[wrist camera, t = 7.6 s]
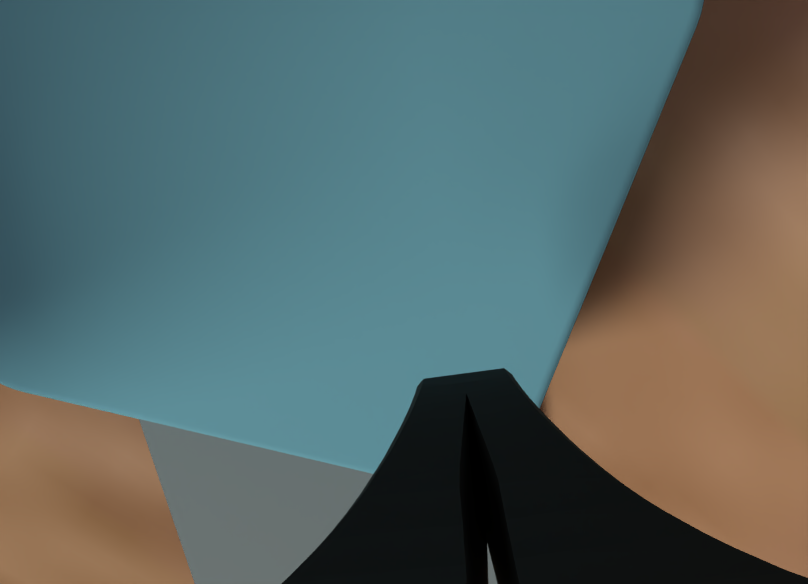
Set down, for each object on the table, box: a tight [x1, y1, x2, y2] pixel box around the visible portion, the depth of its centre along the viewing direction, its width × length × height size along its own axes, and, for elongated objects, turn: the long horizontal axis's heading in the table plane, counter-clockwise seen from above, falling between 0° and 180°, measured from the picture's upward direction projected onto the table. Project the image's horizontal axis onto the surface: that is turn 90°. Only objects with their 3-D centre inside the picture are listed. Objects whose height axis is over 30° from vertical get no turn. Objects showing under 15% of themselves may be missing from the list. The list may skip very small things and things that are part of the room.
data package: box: [0, 0, 704, 474], centre depth 16 cm, size 12×4×12 cm
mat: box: [139, 419, 497, 584], centre depth 19 cm, size 11×24×1 cm, turn 9°
